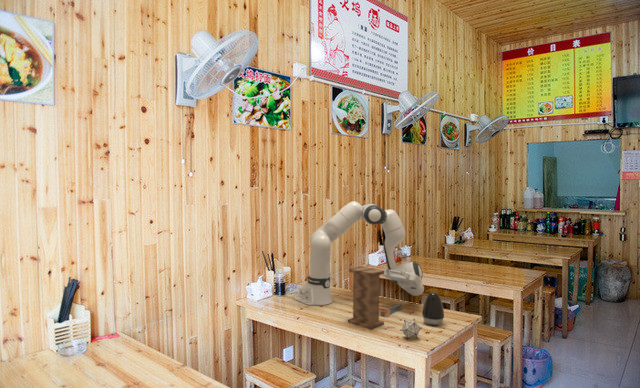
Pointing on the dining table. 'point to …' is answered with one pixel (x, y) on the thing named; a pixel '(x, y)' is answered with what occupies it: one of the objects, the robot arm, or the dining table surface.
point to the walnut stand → (366, 297)
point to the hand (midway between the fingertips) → (394, 271)
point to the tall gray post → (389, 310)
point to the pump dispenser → (433, 309)
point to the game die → (411, 329)
